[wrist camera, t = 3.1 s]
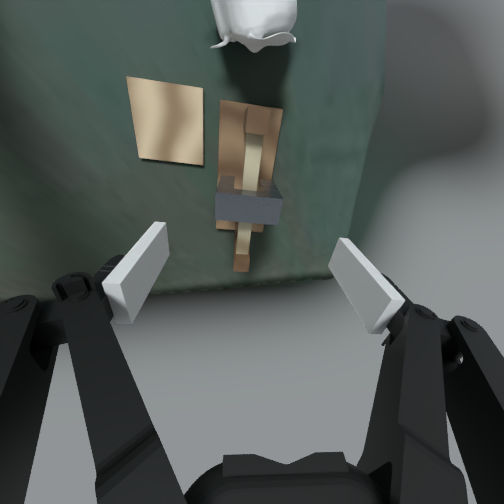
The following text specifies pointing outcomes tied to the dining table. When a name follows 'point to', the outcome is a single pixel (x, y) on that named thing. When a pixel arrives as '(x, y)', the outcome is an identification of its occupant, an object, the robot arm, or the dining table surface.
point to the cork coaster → (167, 120)
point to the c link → (248, 202)
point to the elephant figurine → (255, 22)
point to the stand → (246, 161)
